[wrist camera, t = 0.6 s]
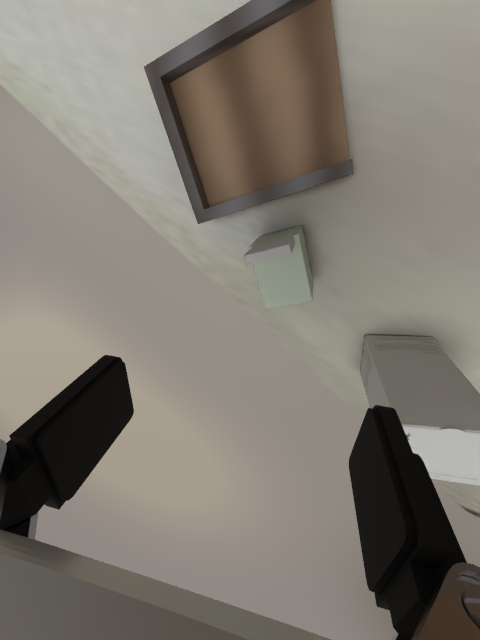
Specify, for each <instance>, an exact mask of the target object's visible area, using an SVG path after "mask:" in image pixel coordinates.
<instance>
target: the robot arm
mask: <svg viewBox="0 0 480 640" xmlns="http://www.w3.org/2000/svg"><path fill="white" fill-rule="evenodd" d="M133 412H134V410H133V403H132V398H131V393H130V388H129V383H128V377H127V372H126V367H125V363H124V362H122V359H121V358H119V357H115V356H108V355H105V356H103V357H102V358H101V359H99V360H98V361H97V362H96V363H95V364H93V365H92V366H91V367H90V368H89V369H88V370H86V371H85V372H84V373H83V374H82V375H80V376H79V377H78V378H77V379H76V380H75V381H73V382H72V383H71V384H70V385H69V386H68V387H66V388H65V389H64V390H63V391H62V392H60V393H59V394H58V395H57V396H56V397H55V398H53V399H52V400H51V401H50V402H49V403H47V404H46V405H45V406H44V407H43V408H42V409H40V410H39V411H38V412H37V413H36V414H35V415H33V416H32V417H31V418H30V419H29V420H27V421H26V422H25V423H24V424H23V425H21V426H20V427H19V428H18V429H17V430H16V431H15V432H13V433H12V434H11V435H10V438H11V440H10V441H9V442H7V443H5V442H4V441H3V440H1V439H0V640H331V639H328V638H325V637H322V636H319V635H317V634H314V633H311V632H308V631H306V630H303V629H300V628H297V627H294V626H291V625H289V624H286V623H283V622H280V621H277V620H274V619H271V618H268V617H265V616H262V615H259V614H256V613H253V612H250V611H247V610H244V609H241V608H238V607H235V606H232V605H229V604H227V603H224V602H221V601H218V600H214V599H212V598H209V597H206V596H203V595H200V594H197V593H194V592H191V591H188V590H185V589H182V588H179V587H176V586H173V585H170V584H167V583H164V582H161V581H158V580H155V579H152V578H149V577H146V576H143V575H140V574H137V573H134V572H131V571H128V570H125V569H122V568H119V567H116V566H113V565H110V564H107V563H104V562H101V561H98V560H94V559H92V558H89V557H86V556H82V555H79V554H76V553H73V552H70V551H67V550H64V549H61V548H58V547H55V546H52V545H49V544H46V543H43V542H40V541H37V540H35V533H36V526H37V518H38V511H39V510H40V509H41V507H42V506H43V505H44V504H45V505H46V506H49V507H53V508H56V509H60V508H61V506H62V505H63V504H64V502H65V501H66V500H69V499H71V498H72V497H73V496H74V494H75V493H76V491H77V490H78V489H79V487H80V486H81V485H82V483H83V482H84V481H85V480H86V478H87V477H88V476H89V474H90V473H91V472H92V470H93V469H94V468H95V466H96V465H97V464H98V462H99V461H100V459H101V458H102V457H103V455H104V454H105V453H106V452H107V450H108V449H109V448H110V446H111V445H112V443H113V442H114V441H115V439H116V438H117V436H118V435H119V434H120V433H121V431H122V430H123V429H124V427H125V426H126V425H127V423H128V422H129V421H130V419H131V418H132V415H133ZM349 470H350V477H351V482H352V489H353V496H354V502H355V509H356V516H357V522H358V529H359V535H360V541H361V548H362V554H363V561H364V567H365V574H366V579H367V585H368V588H369V590H370V591H372V592H375V598H376V604H377V607H381V608H384V609H387V610H390V613H391V618H392V623H393V627H394V629H395V630H396V633H395V635H394V637H393V639H392V640H480V567H478V566H475V565H473V564H469V563H467V562H466V560H465V557H464V555H463V553H462V551H461V548H460V546H459V543H458V541H457V539H456V536H455V535H454V532H453V529H452V527H451V525H450V522H449V520H448V518H447V515H446V513H445V511H444V508H443V506H442V504H441V501H440V499H439V497H438V494H437V492H436V489H435V487H434V485H433V482H432V480H431V478H430V475H429V473H428V471H427V468H426V466H425V464H424V462H423V460H422V458H421V457H420V456H419V455H418V454H415V453H413V452H412V449H411V447H410V444H409V442H408V439H407V437H406V434H405V432H404V429H403V427H402V424H401V422H400V419H399V417H398V414H397V412H396V410H395V409H394V408H391V407H385V406H380V405H375V406H374V407H373V408H368V410H367V412H366V415H365V418H364V420H363V423H362V426H361V428H360V431H359V434H358V437H357V439H356V442H355V444H354V447H353V450H352V453H351V455H350V459H349Z"/></svg>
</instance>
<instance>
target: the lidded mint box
mask: <svg viewBox="0 0 480 640" xmlns="http://www.w3.org/2000/svg"><path fill="white" fill-rule="evenodd" d="M244 259H245V263H246V265H248V264H252V263H253V265H254V269H255V272H256V276H257V279H258V283H259V286H260V290H261V293H262V297H263V300H264V304H265V307H266V310H268V309H273V308H279V307H285V306H291V305H296V304H302V303H308V302H312V298H313V279H312V274H311V269H310V264H309V259H308V254H307V249H306V244H305V239H304V234H303V229H302V225H299V226H296V227H292V228H289V229H285V230H282V231H278V232H274V233H271V234H267V235H263V236H260V237H259V238H258V239H257V240H256V241H255V242H254V243H253V244H252V245H251V246H250V247H249V251H248V252H247V253H246V254H245V255H244Z"/></svg>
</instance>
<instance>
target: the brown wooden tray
mask: <svg viewBox="0 0 480 640" xmlns="http://www.w3.org/2000/svg"><path fill="white" fill-rule="evenodd" d="M144 69H145V72H146V75H147V77H148V80H149V83H150V86H151V89H152V92H153V95H154V98H155V101H156V104H157V106H158V109H159V112H160V115H161V118H162V121H163V124H164V127H165V130H166V133H167V135H168V138H169V141H170V144H171V147H172V150H173V153H174V156H175V159H176V162H177V164H178V167H179V170H180V173H181V176H182V179H183V182H184V185H185V188H186V191H187V193H188V196H189V199H190V202H191V205H192V208H193V211H194V214H195V217H196V219H197V222H198V224H200V223H203V222H206V221H209V220H212V219H215V218H218V217H222V216H225V215H228V214H231V213H234V212H237V211H240V210H243V209H246V208H249V207H252V206H256V205H259V204H262V203H265V202H268V201H271V200H274V199H277V198H280V197H283V196H286V195H289V194H293V193H296V192H299V191H302V190H305V189H308V188H311V187H314V186H317V185H320V184H323V183H327V182H330V181H333V180H336V179H339V178H342V177H345V176H348V175H351V174H354V172H353V164H352V159H350V157H349V149H348V141H347V133H346V124H345V116H344V108H343V99H342V91H341V83H340V74H339V66H338V58H337V49H336V41H335V33H334V24H333V16H332V8H331V0H251V1H250V2H248V3H247V4H245V5H243V6H242V7H240V8H238V9H237V10H235V11H234V12H232V13H230V14H229V15H227V16H225V17H224V18H222V19H221V20H219V21H217V22H216V23H214V24H212V25H211V26H209V27H208V28H206V29H204V30H203V31H201V32H200V33H198V34H196V35H195V36H193V37H191V38H190V39H188V40H187V41H185V42H183V43H182V44H180V45H178V46H177V47H175V48H174V49H172V50H170V51H169V52H167V53H165V54H164V55H162V56H161V57H159V58H157V59H156V60H154V61H153V62H151V63H149V64H148V65H146V66H144Z"/></svg>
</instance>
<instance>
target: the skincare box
mask: <svg viewBox="0 0 480 640" xmlns="http://www.w3.org/2000/svg"><path fill="white" fill-rule="evenodd" d="M360 373H361V377H362V380H363V384H364V387H365V391H366V395H367V399H368V402H369V406H370V408H373V407H374V406H375V405H380V406H385V407H391V408H394V409H395V410H396V412H397V414H398V417H399V419H400V422H401V424H402V427H403V429H404V432H405V434H406V437H407V439H408V442H409V444H410V447H411V449H412V452H413V453H415V454H418V455H419V456H420V457H421V458H422V460H423V462H424V464H425V466H426V468H427V471H428V473H429V475H430V478H431V479H438V480H445V481H452V482H458V483H465V484H472V485H479V486H480V394H479V393H478V392H477V390H476V389H475V388H474V387H473V385H472V384H471V383H470V382H469V381H468V379H467V378H466V377H465V376H464V375H463V373H462V372H461V371H460V370H459V368H458V367H457V366H456V365H455V364H454V362H453V361H452V360H451V359H450V357H449V356H448V355H447V354H446V353H445V351H444V350H443V349H442V348H441V346H440V345H439V344H438V343H437V342H436V340H435V339H434V338H433V337H419V336H383V335H366V336H365V338H364V345H363V353H362V361H361V370H360Z"/></svg>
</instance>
